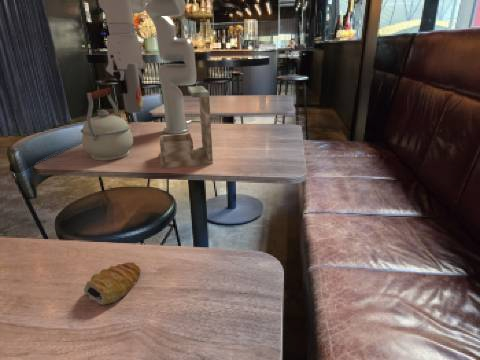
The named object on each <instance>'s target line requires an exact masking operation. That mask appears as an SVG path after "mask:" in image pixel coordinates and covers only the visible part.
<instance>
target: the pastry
mask: <svg viewBox="0 0 480 360" xmlns="http://www.w3.org/2000/svg"><path fill="white" fill-rule="evenodd" d="M140 271H141V272H142V270H141V268H140V267H139V266H138V265H137V264H136V263H135V262H134V261H133V262H125V263H118V264H116V265H114V266H113V265H112V266H109V267H108V268H103V269H101V271H100V272H99V273H95V274H93V275H92V276H91V277H90V280H88V281H87V282H86V284H85V285H84V289H83V292H84V294H86V295H87V297H88V299H90V300H91V301H94V302H96V303H97V304H99V305H101V306H103V305H111V304H113V302H114V303H116V302H118V301H119V300H120V299H121V298H122V297H125V296H126V295H127V294H128V293H129V292H130V291H131V290H132V289H131V287H132V286H133V285H134V283H135V282H136V281H137V280H138V278H139V276H140V277H141V275H140ZM139 279H140V278H139ZM138 281H139V280H138ZM138 281H137V282H138ZM137 282H136V283H137ZM134 286H135V285H134ZM134 286H133V287H134ZM133 287H132V288H133ZM130 289H131V290H130ZM128 291H129V292H128ZM127 292H128V293H127ZM126 293H127V294H126ZM125 294H126V295H125ZM124 295H125V296H124ZM110 303H111V304H110Z"/></svg>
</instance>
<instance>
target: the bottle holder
mask: <svg viewBox="0 0 480 360" xmlns="http://www.w3.org/2000/svg"><path fill="white" fill-rule="evenodd" d="M187 92H188V93H189V94H190V97H192V98H198V99H199V115H200V132H201V143H202V146H201V147H200V146H199V147H194V141H193V138H192V134H191V132H189V133H187V132H185V133H178V134H164V135H163V134H162V135H159V147H160V169H169V168H170V169H172V168H179V167H180V168H181V167H191V166H202V165H211V164H213V163H214V162H213V161H214V159H213V142H212V141H213V140H212V123H211V121H212V120H211V103H210V92H209V90H208V89H206V87H204V86H203V85H199V86H198V85H197V86H196V85H195V86H193V85H192V86H187Z"/></svg>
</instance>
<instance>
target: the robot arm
mask: <svg viewBox="0 0 480 360" xmlns="http://www.w3.org/2000/svg"><path fill="white" fill-rule="evenodd" d="M98 3H99V7H100V8H101V9H102V11H104V13H105V15H106V21H107V27H108V28H107V29H108V33H109V35H106V36H107V37H106V49H107V50H106V51H107V60H108V62H107V66H106V68H105V71H106V72H107V73H109V74H110V75H111V76H112V77H113V78H114V80H116V81H117V87H118V91H119V93H120V94H123V93H125V94H126V93H127V86H126V81H125V80H124V72H125V70H127V65H128V64H130V63H136V64H137V68H138V74H139V82H140V89H141V92H143V90H144V88H143V82H142V79H143V76H144V73H145V71H146V70H147V68H148V64H147V63H146V62H145V61H144V60H143V53H142V48H141V45H140V40H139V38H138V35H137V34H136V32H137V31H138V28H137V26H135V22H134V16H133V14H141V13H143V12H144V11H145V12H146V14H147V15H148V17H149V18H150V20H151V21H152V23H153V25H154V28H155V33H156V41H157V49H158V54H159V57H160V59H161V60H162V61H167V62H180V61H181V62H184V63H165V64H162V65H160V67H159V68H158V70H157V72H158V73H157V75H158V78H159V81H160V86H161V92H162V98H163V99H162V100H163V109H164V118H165V125H166V126H165V128H163V133H165V134H168V135H173V134H185V133H187V132H189V130H190V127H189V126H188V125H192V124H193V122H192V120H191V119H189V120H186V116H185V104H184V94H183V92H182V90H181V88H179V87H178V86H193V85H194V84H195V83H196V82H197V67H196V64H197V63H196V54H195V46H194V43H193V41H192V40H191V39H190V38H187V37H180V38H179V37H177V31H176V25H175V23H174V21H173V20H172V19H171V17H181V16H183V15H184V14H185V12H186V6H187V5H186V1H185V0H98Z"/></svg>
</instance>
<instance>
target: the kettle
mask: <svg viewBox="0 0 480 360" xmlns="http://www.w3.org/2000/svg"><path fill="white" fill-rule="evenodd" d="M111 94H112V90H111V89H110V87H105V88H102V89H97V90H95V91H89V92H87V93H86V98H87V100H88V109H87V115H86V121H85V122H84V123H83V126H82V128H81V129H80V133H81V134H82V135H81V136H82V138H81V144H82V147H83V149H84V150H85V152H87V153H88V154H89V155H90V156H91V159H93V160H95V161H113V160H118V159H122V158H125V157H126V156H128V155H129V154H130V150H131V148H132V146H133V144H134V137H133V135H132V132H131V125H130V124H128V122H127V121H126V120H125V119H124V118H122V117H120V116H119V111H118V107H117V105H116V104H115V102H114V100H113V98H112V95H111ZM105 96H107V99H108V101H109V103H110V104H111V107H112V109H113V113H114V115H109V114H110V112H108V110H107V109H103V108H102V109H100V110H99V111H98V112H97V115H98V116H95V117H92V113H93V109H94V100H95V99H100V98H102V97H105Z"/></svg>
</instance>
